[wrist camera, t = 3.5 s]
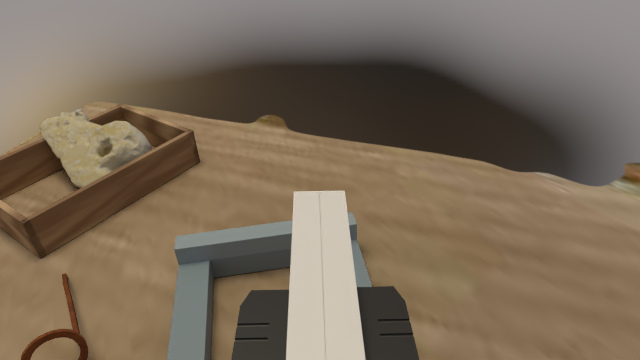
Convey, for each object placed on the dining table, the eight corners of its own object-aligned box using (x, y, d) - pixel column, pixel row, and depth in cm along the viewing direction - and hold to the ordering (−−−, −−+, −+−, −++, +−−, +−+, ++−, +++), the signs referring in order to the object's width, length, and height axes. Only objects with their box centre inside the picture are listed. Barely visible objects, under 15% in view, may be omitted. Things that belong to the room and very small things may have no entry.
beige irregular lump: (172, 206, 65) (164, 106, 69) (138, 194, 58) (131, 84, 62) (77, 232, 68) (75, 134, 72) (33, 223, 61) (34, 116, 66)
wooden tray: (200, 161, 69) (193, 130, 66) (40, 258, 53) (22, 223, 51) (130, 132, 77) (121, 103, 74) (-25, 209, 62) (-44, 176, 59)
